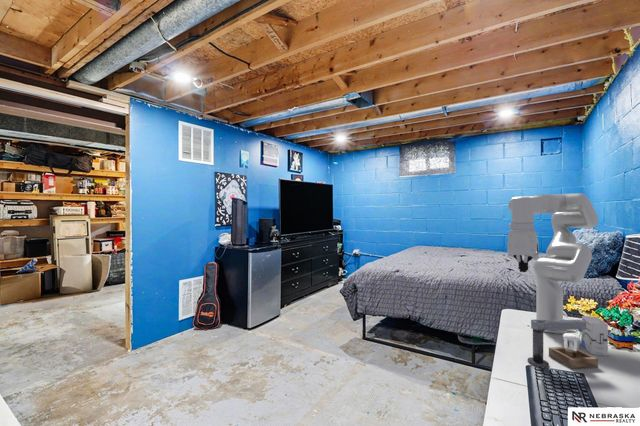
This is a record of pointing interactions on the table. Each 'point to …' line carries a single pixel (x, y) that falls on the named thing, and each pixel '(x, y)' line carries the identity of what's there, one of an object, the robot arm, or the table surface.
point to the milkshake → (571, 344)
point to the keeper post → (538, 350)
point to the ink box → (595, 335)
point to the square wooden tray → (574, 363)
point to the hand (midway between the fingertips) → (523, 271)
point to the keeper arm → (558, 325)
